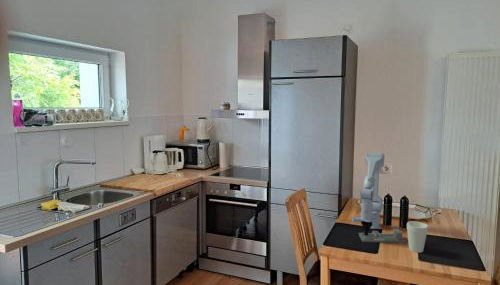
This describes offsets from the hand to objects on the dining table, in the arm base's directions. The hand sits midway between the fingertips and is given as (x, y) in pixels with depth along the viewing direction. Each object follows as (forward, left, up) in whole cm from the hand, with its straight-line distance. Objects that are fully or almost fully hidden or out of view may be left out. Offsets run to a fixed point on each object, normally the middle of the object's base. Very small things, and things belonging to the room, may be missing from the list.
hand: (365, 234), depth 186 cm
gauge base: (0, +8, -2) cm, 8 cm away
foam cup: (+13, +21, -2) cm, 25 cm away
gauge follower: (+1, +5, -1) cm, 5 cm away
